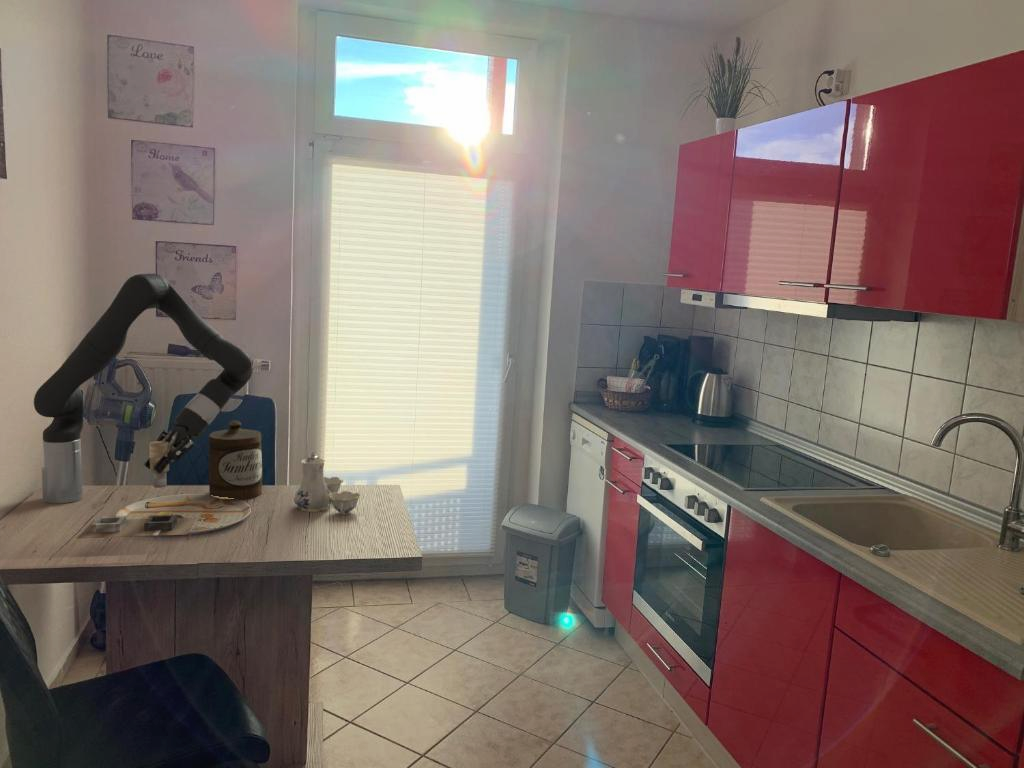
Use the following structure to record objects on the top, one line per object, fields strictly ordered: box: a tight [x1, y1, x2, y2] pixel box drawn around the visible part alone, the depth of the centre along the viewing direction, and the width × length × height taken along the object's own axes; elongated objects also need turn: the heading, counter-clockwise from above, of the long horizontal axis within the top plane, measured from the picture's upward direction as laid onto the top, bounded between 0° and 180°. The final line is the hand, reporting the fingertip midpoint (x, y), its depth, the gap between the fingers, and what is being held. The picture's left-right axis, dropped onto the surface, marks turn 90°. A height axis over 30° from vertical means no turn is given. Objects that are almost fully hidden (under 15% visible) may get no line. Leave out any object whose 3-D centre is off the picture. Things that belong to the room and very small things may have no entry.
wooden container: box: [208, 420, 263, 501], centre depth 240 cm, size 15×15×22 cm
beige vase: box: [148, 440, 170, 489], centre depth 202 cm, size 4×4×11 cm
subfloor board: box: [76, 511, 198, 541], centre depth 203 cm, size 25×14×4 cm, turn 102°
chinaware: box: [293, 451, 361, 516], centre depth 231 cm, size 28×17×17 cm, turn 33°
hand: (152, 469), depth 201 cm, fingers closed on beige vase, 4 cm apart
